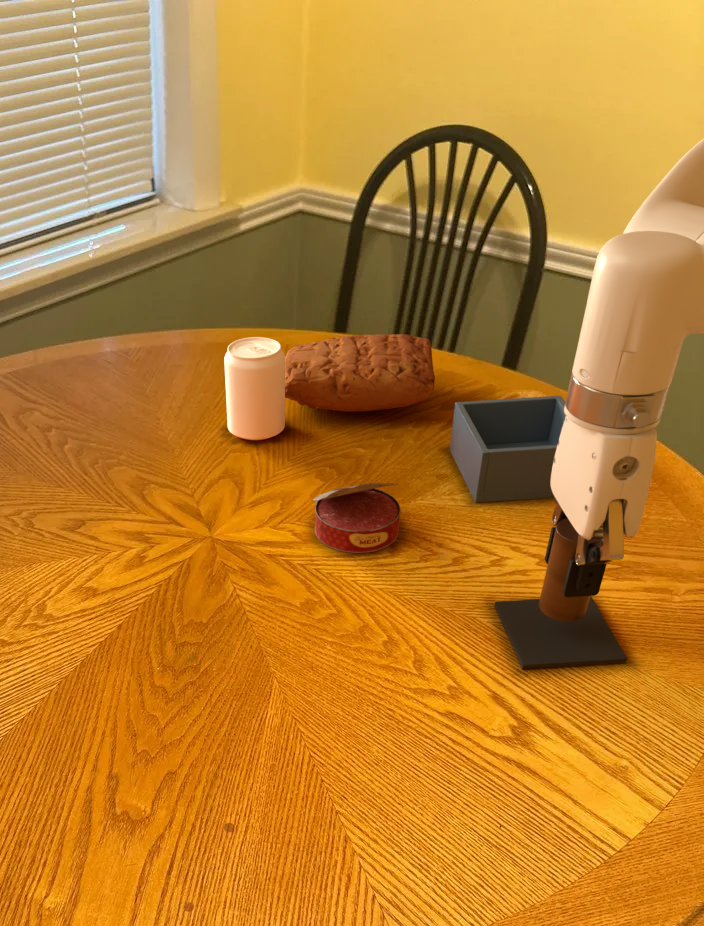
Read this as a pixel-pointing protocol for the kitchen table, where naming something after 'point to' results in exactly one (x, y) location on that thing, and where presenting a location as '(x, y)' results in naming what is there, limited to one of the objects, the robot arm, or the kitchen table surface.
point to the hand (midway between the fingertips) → (570, 576)
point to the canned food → (357, 518)
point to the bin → (507, 446)
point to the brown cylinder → (563, 576)
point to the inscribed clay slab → (360, 372)
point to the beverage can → (255, 388)
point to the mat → (558, 637)
